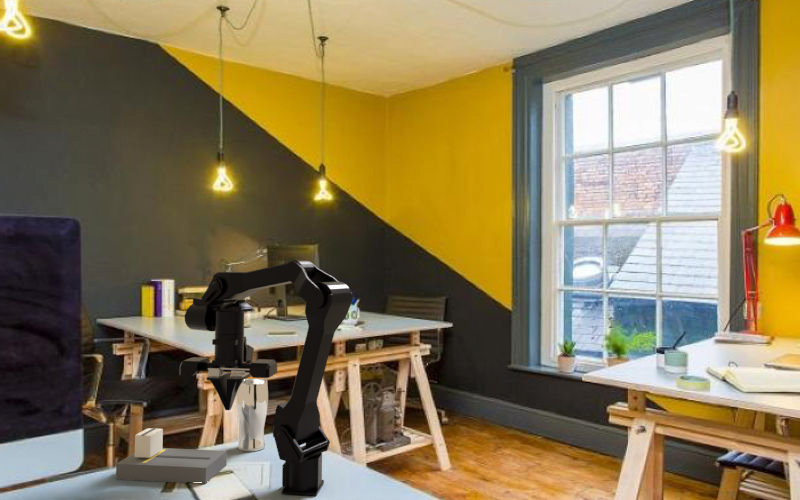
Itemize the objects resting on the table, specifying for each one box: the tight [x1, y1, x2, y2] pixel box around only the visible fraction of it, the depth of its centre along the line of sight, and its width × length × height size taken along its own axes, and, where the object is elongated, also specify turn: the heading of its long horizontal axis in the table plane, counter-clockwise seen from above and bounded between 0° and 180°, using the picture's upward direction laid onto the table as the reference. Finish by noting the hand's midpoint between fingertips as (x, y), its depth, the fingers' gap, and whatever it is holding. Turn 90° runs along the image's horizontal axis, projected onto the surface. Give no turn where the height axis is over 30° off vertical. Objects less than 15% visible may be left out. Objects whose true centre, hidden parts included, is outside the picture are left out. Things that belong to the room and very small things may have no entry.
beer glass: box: [236, 378, 269, 453], centre depth 132 cm, size 7×7×15 cm
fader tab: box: [134, 427, 164, 458], centre depth 117 cm, size 3×5×4 cm, turn 174°
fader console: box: [115, 447, 228, 484], centre depth 116 cm, size 18×10×3 cm, turn 84°
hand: (228, 409), depth 119 cm, fingers closed
